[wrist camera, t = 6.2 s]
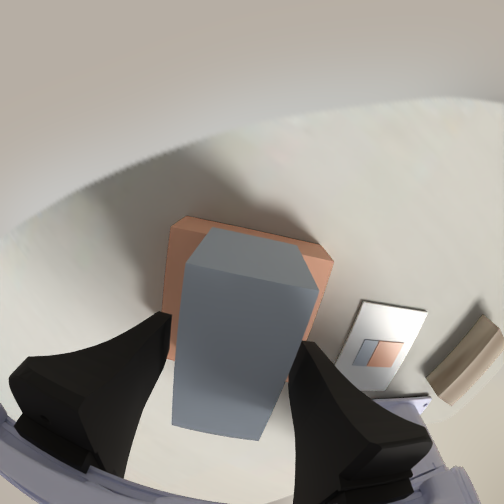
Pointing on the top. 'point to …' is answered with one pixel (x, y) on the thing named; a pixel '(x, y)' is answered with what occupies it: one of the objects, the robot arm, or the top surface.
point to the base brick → (194, 230)
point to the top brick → (238, 331)
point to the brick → (467, 361)
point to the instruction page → (378, 344)
